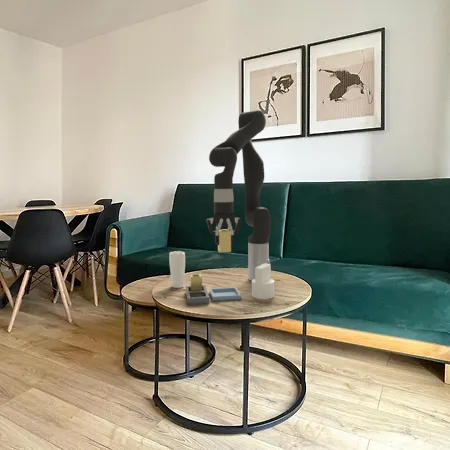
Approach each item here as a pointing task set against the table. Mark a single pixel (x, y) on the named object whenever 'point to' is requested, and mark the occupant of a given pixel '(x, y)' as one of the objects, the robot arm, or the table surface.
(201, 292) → the frame
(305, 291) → the table surface
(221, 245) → the gold square peg
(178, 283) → the white tapered cylinder
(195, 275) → the square peg
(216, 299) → the parts tray
